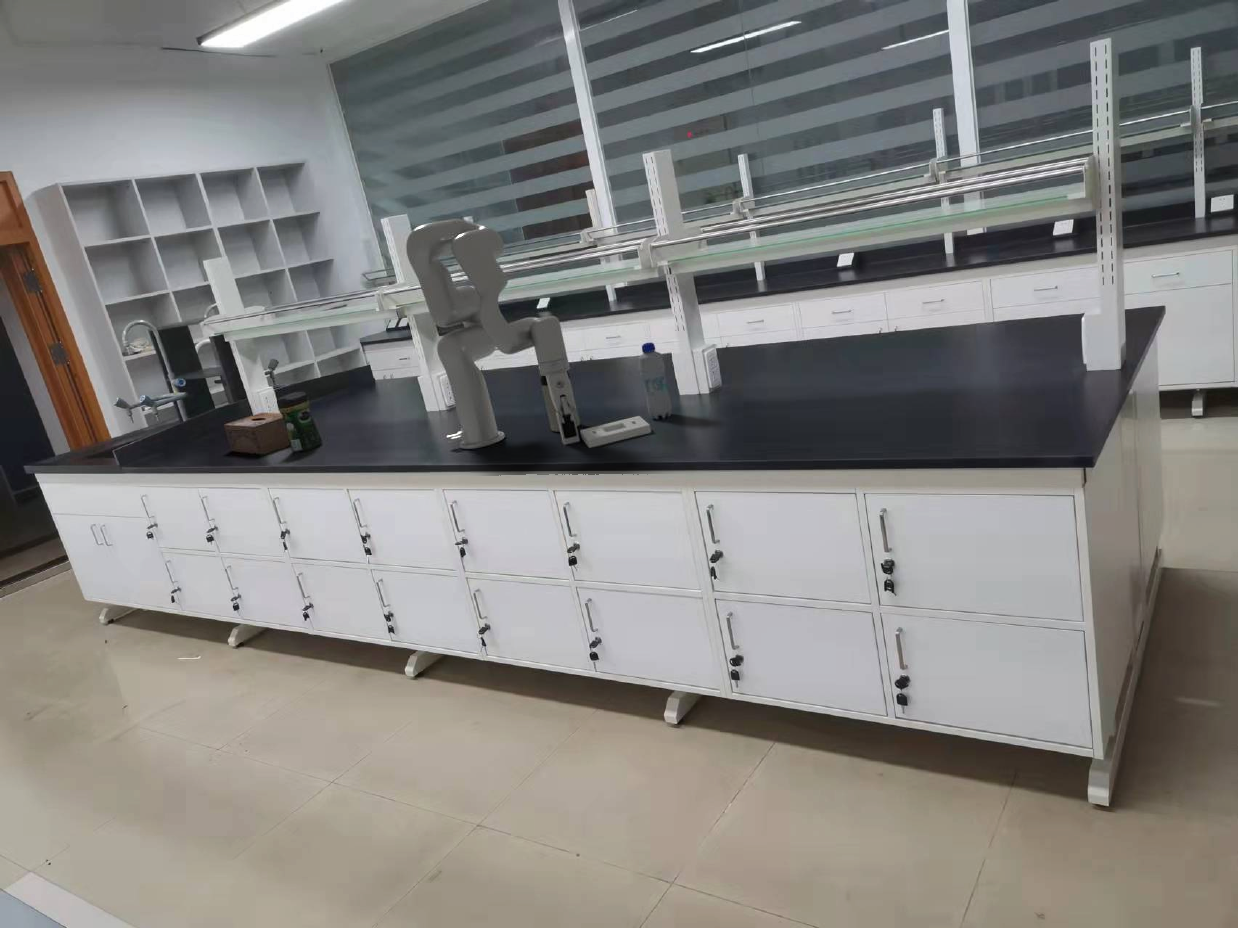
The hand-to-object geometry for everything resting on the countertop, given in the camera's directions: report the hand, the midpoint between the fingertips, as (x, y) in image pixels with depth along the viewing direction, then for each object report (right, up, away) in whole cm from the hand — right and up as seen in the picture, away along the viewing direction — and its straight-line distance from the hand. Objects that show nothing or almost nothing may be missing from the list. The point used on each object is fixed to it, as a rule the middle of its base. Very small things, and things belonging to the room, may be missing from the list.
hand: (569, 434), depth 227 cm
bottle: (+24, +5, +6) cm, 25 cm away
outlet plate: (+12, 0, -3) cm, 12 cm away
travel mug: (-2, +2, +16) cm, 16 cm away
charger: (0, -2, +1) cm, 2 cm away
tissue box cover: (-110, -2, +81) cm, 137 cm away
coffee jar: (-89, -3, +62) cm, 109 cm away
